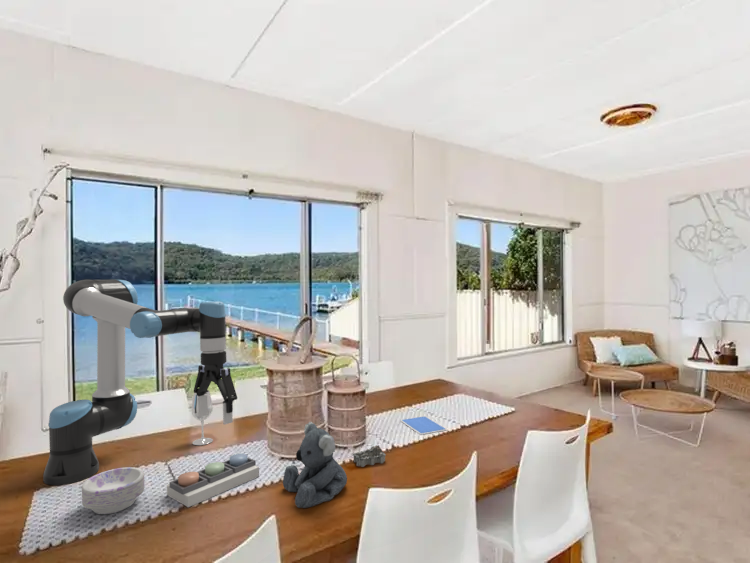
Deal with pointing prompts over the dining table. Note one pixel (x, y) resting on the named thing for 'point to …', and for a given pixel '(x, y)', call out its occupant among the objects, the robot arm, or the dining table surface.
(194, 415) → the wineglass
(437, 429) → the tablet computer
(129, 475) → the paper bowls
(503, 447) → the dining table surface
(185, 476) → the button terracotta
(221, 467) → the button sage
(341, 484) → the koala plush
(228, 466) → the console
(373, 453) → the egg carton
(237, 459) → the button slate
